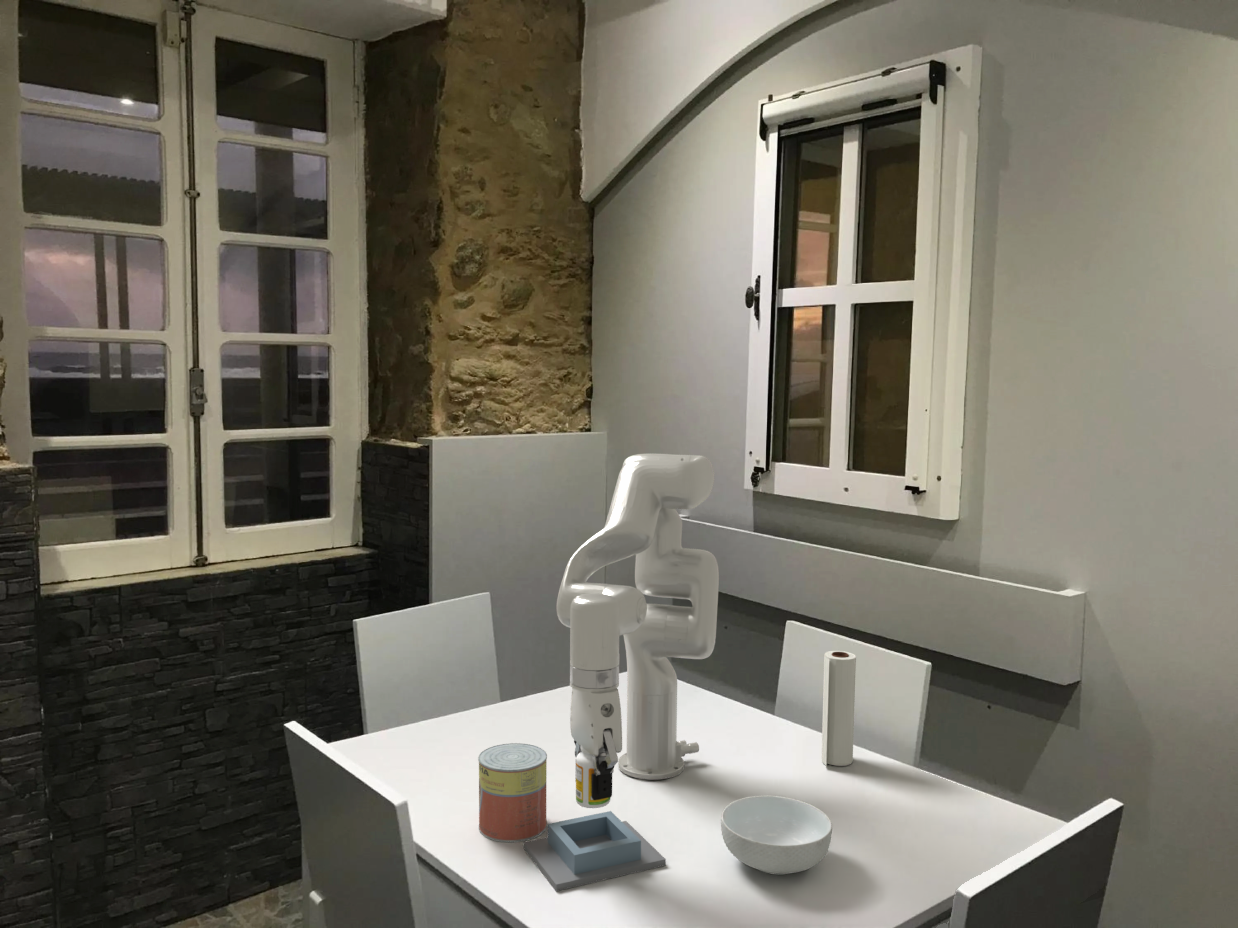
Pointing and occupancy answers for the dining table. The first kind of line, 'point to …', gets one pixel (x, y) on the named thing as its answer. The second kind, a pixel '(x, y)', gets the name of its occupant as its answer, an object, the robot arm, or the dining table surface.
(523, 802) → the canned food
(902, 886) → the dining table surface
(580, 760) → the supplement bottle
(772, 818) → the cereal bowl
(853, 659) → the paper towel roll
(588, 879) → the caddy
